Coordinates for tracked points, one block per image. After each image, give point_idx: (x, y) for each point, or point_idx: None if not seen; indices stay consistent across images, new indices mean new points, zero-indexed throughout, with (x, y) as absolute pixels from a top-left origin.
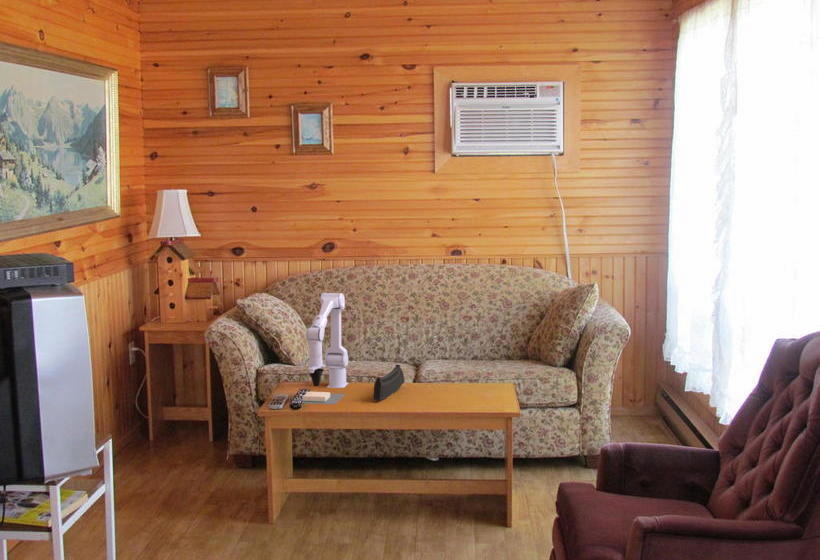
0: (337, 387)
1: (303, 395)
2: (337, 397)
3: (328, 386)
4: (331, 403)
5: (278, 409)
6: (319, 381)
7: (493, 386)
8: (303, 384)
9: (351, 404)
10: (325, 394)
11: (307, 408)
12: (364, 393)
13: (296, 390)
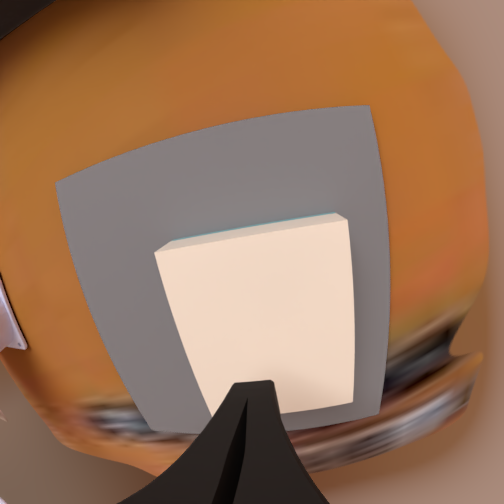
0: (4, 297)
1: (333, 404)
2: (145, 185)
3: (19, 342)
4: (351, 142)
5: (470, 387)
6: (241, 417)
7: None
8: (59, 428)
9: (288, 7)
10: (250, 260)
11: (470, 273)
12: (20, 104)
13: (128, 446)
